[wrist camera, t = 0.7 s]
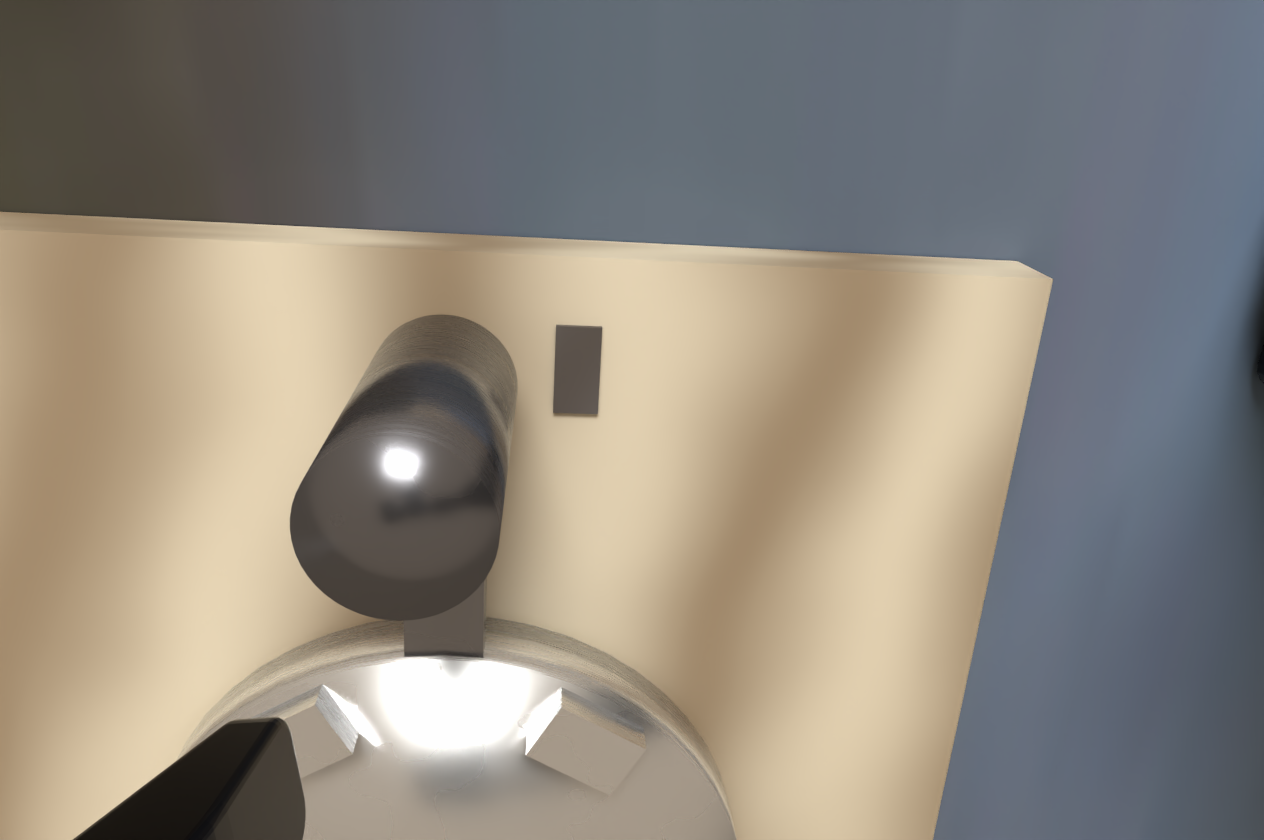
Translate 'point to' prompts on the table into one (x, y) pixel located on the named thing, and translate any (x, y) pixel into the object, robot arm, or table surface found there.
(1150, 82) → the table surface
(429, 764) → the grey metal part
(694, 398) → the base plate
